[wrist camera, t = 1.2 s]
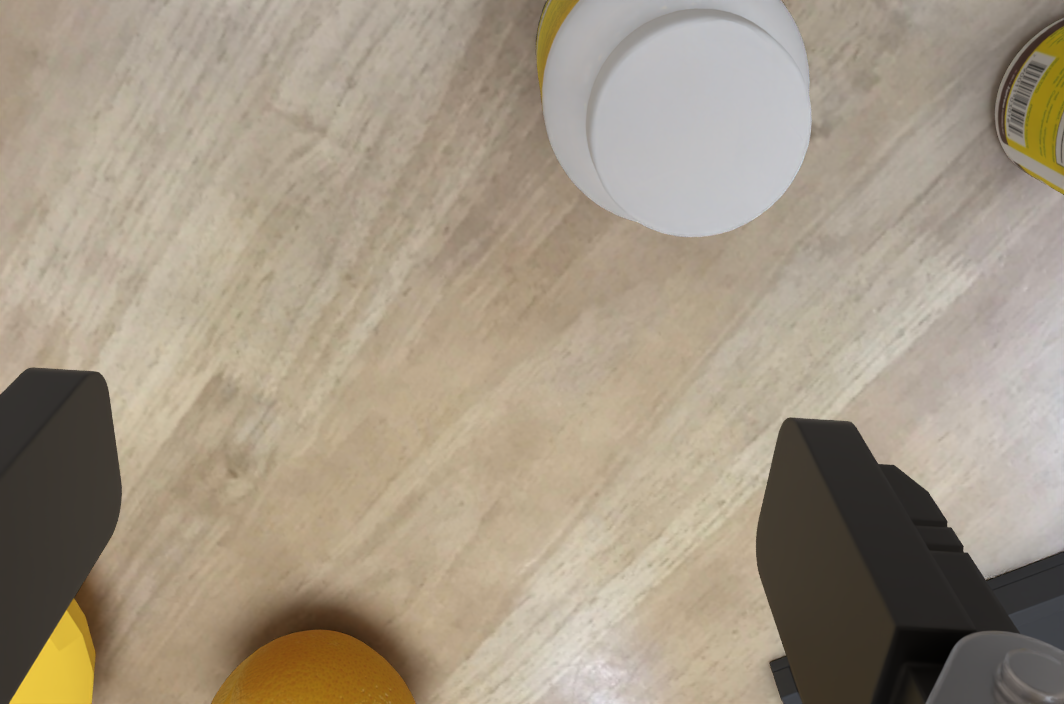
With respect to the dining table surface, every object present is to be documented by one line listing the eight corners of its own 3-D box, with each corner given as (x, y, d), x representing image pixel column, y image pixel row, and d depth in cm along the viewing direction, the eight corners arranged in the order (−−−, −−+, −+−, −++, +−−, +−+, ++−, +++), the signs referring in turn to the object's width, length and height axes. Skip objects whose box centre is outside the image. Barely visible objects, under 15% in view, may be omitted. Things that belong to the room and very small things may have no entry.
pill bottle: (495, 69, 31) (483, 170, 20) (618, -114, 28) (676, -106, 18) (654, 182, 32) (718, 329, 22) (781, 18, 30) (920, 96, 20)
